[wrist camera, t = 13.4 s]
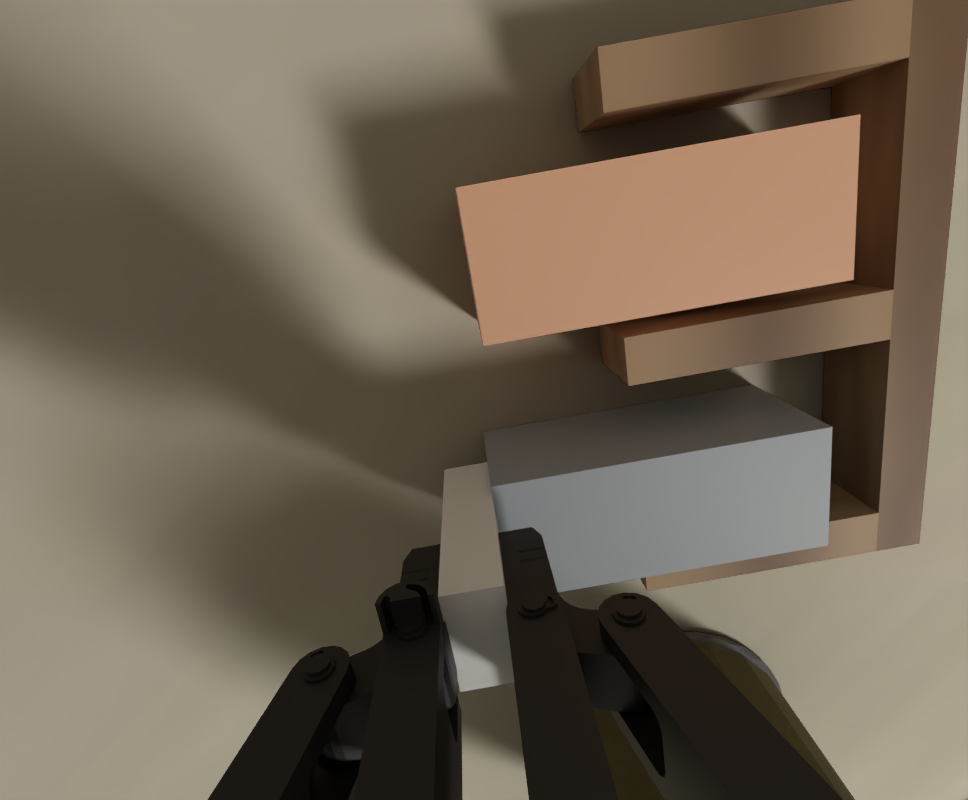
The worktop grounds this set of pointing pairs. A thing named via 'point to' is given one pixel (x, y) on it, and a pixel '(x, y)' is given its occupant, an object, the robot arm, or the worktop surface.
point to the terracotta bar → (662, 230)
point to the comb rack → (878, 242)
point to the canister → (755, 684)
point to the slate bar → (665, 485)
